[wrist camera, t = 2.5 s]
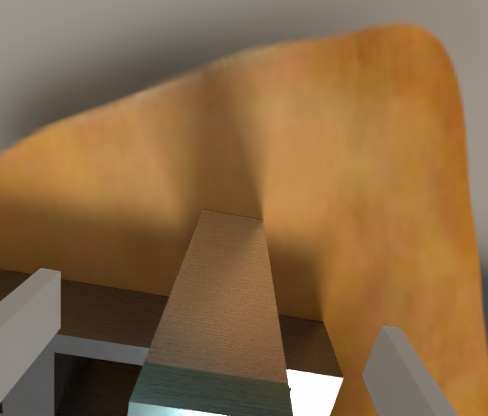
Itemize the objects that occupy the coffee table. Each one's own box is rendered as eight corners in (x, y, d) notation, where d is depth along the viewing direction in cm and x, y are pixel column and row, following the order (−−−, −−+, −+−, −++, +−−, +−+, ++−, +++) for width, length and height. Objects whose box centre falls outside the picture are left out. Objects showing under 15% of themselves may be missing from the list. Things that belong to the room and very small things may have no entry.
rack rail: (297, 402, 26) (309, 470, 21) (-60, 350, 24) (-133, 410, 20) (323, 322, 24) (343, 378, 19) (-73, 257, 22) (-160, 300, 17)
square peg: (251, 273, 22) (261, 527, 9) (194, 263, 22) (118, 510, 9) (263, 220, 21) (295, 425, 8) (203, 209, 21) (128, 401, 7)
